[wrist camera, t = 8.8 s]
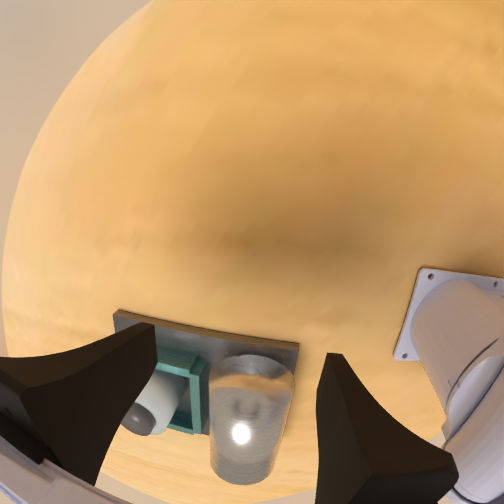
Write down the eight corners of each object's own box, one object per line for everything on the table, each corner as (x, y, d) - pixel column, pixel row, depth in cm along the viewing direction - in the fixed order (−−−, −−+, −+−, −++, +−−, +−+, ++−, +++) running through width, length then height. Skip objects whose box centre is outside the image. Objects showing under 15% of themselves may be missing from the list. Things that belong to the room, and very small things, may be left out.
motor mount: (298, 343, 22) (295, 405, 16) (277, 440, 26) (268, 493, 20) (118, 309, 25) (72, 348, 18) (136, 407, 28) (107, 449, 22)
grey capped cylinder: (187, 369, 24) (161, 416, 18) (184, 405, 25) (162, 449, 20) (137, 351, 24) (102, 391, 19) (138, 388, 26) (110, 427, 20)
